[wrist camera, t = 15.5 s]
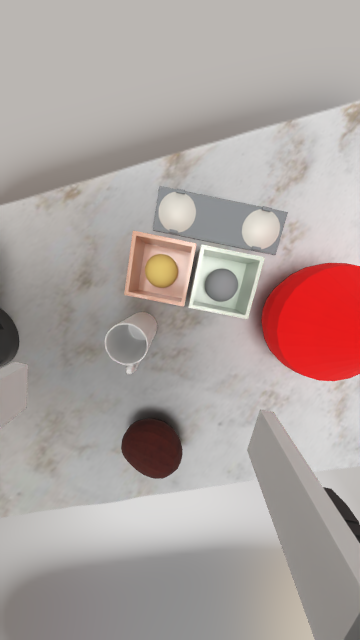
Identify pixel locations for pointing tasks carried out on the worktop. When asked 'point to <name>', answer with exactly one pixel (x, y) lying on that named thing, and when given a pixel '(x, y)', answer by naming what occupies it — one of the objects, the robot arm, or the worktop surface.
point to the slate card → (218, 220)
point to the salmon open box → (143, 251)
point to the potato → (152, 448)
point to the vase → (316, 321)
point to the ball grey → (221, 285)
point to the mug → (131, 340)
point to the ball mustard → (161, 270)
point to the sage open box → (244, 270)
